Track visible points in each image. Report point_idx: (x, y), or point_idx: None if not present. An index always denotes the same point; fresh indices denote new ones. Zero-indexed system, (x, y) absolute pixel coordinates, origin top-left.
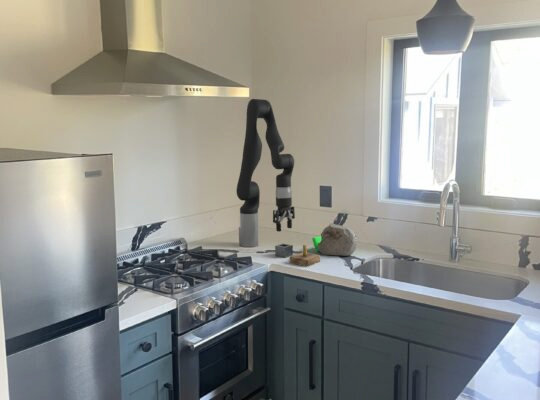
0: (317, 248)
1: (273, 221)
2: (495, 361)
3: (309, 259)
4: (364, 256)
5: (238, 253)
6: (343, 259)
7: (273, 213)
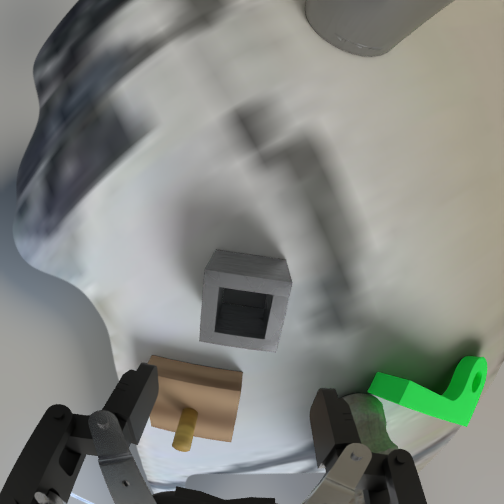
0: (372, 383)
1: (49, 416)
2: (80, 497)
3: (161, 428)
4: None
5: (170, 49)
6: (293, 452)
7: (12, 480)
